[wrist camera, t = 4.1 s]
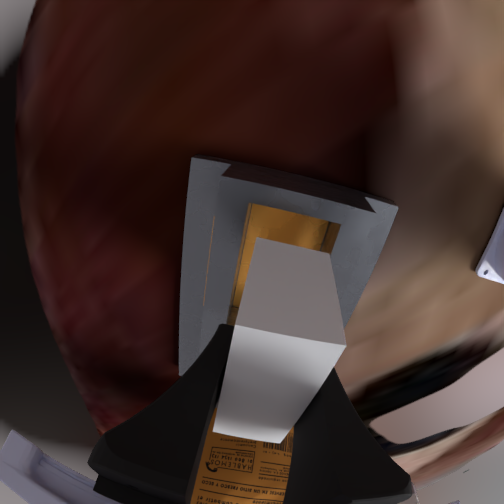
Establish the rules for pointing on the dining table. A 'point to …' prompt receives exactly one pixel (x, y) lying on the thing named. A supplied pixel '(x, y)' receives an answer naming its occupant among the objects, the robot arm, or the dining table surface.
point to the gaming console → (412, 497)
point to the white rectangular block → (280, 342)
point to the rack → (267, 227)
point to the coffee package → (242, 470)
